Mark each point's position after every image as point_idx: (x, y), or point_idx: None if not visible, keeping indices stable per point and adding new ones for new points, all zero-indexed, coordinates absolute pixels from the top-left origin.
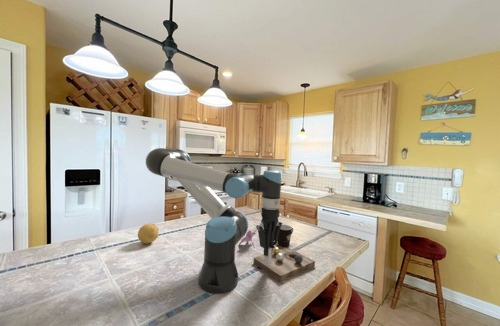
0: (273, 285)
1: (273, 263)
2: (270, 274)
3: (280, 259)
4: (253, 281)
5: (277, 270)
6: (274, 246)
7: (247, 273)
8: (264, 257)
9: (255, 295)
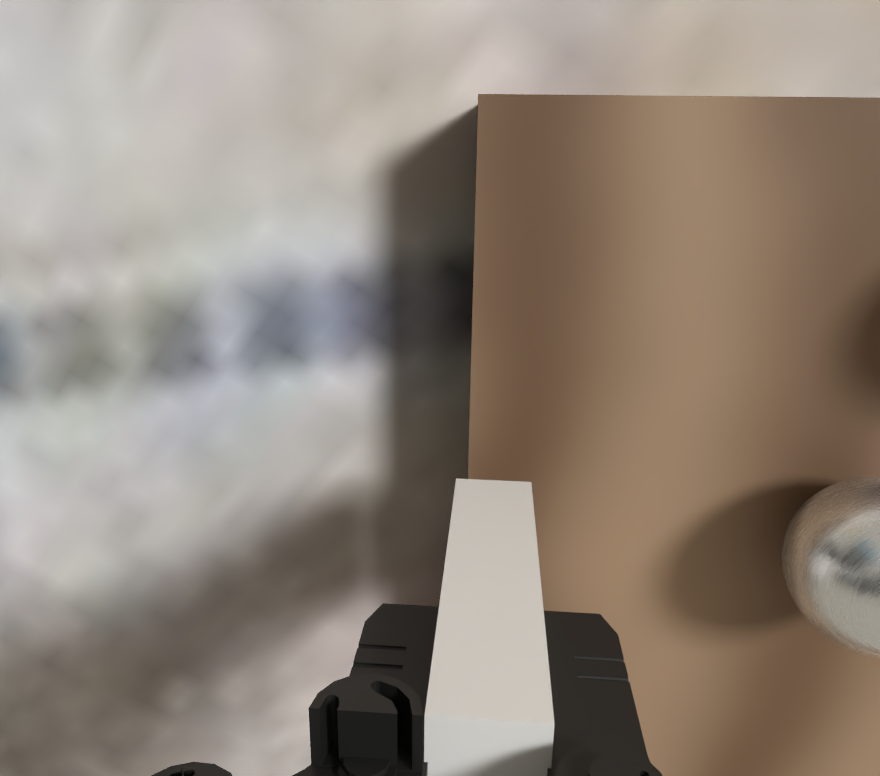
0: None
1: (656, 517)
2: None
3: (809, 620)
4: (150, 530)
5: None
6: None
7: (177, 326)
8: (451, 525)
9: (30, 725)
